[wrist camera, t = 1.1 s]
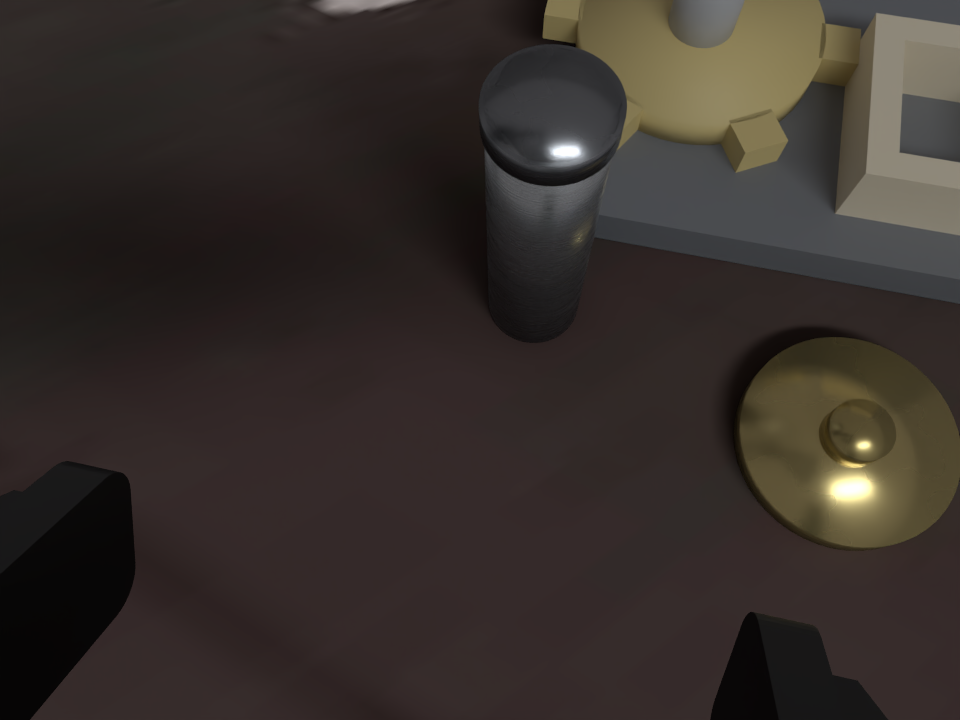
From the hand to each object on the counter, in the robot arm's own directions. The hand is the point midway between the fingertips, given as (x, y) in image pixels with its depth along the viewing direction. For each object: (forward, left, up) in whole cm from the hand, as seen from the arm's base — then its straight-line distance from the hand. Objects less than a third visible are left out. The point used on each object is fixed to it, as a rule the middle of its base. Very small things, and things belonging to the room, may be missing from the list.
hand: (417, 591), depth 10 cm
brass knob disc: (+11, +8, -16) cm, 21 cm away
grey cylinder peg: (0, +11, -16) cm, 19 cm away
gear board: (+9, +21, -16) cm, 28 cm away
